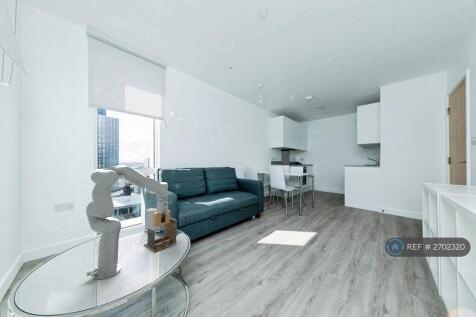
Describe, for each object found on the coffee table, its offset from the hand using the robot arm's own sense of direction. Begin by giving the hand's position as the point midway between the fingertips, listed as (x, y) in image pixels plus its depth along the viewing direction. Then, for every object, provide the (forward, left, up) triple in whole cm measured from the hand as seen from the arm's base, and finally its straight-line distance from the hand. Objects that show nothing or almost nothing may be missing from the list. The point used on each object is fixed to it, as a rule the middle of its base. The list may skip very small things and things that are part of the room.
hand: (161, 221), depth 140 cm
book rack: (0, 0, -18) cm, 18 cm away
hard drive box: (+10, +30, -18) cm, 37 cm away
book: (0, 0, -2) cm, 2 cm away
